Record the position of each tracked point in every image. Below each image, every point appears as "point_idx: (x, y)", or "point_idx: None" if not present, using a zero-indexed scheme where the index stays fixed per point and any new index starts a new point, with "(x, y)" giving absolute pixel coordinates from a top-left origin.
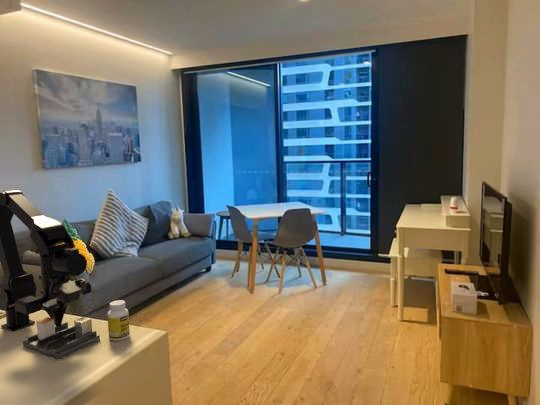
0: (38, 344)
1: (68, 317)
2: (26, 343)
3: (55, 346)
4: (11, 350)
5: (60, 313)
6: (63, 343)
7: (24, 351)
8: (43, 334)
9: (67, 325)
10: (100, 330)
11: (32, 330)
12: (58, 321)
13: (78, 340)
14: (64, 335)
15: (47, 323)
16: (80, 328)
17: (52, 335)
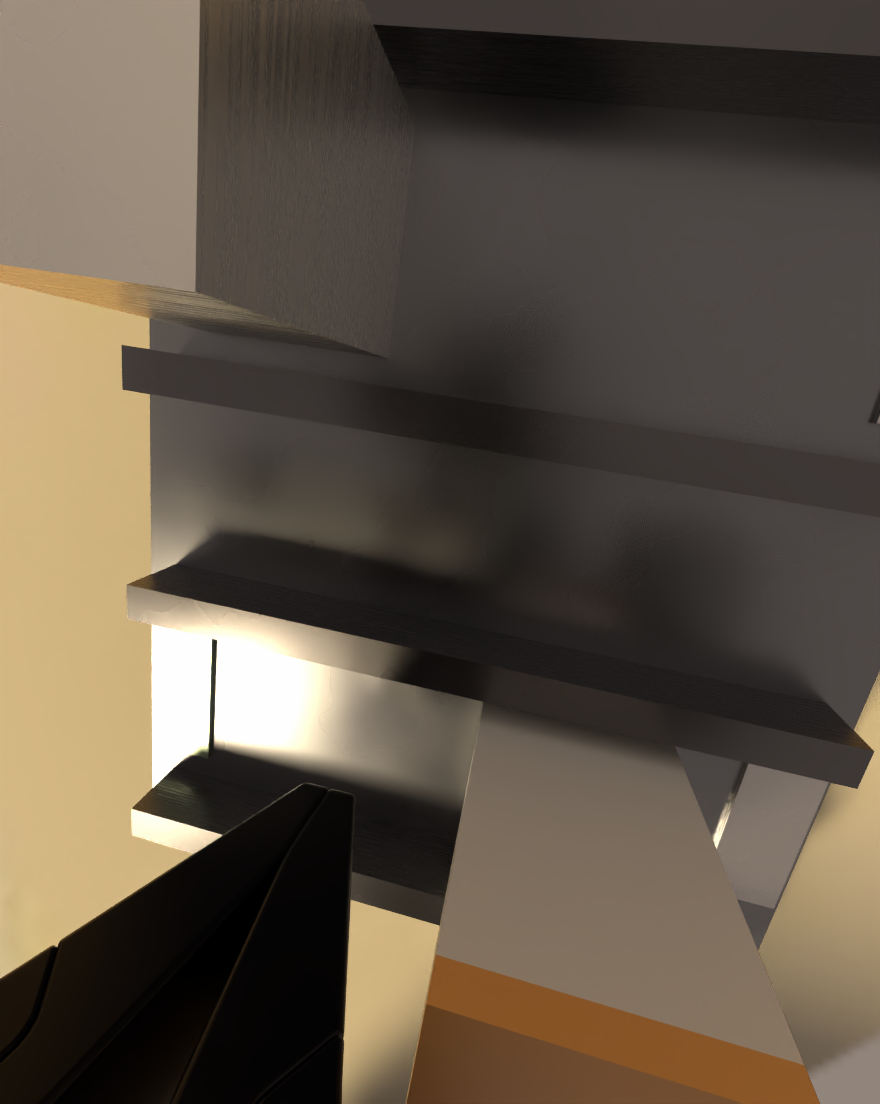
0: (838, 726)
1: (16, 940)
2: (755, 932)
3: (784, 416)
4: (821, 993)
5: (120, 1045)
6: (645, 368)
7: (815, 843)
8: (695, 829)
9: (170, 778)
10: (15, 346)
11: (357, 1072)
12: (309, 865)
13: None
14: (397, 600)
15: (652, 1000)
16: (325, 6)
17: (579, 696)
